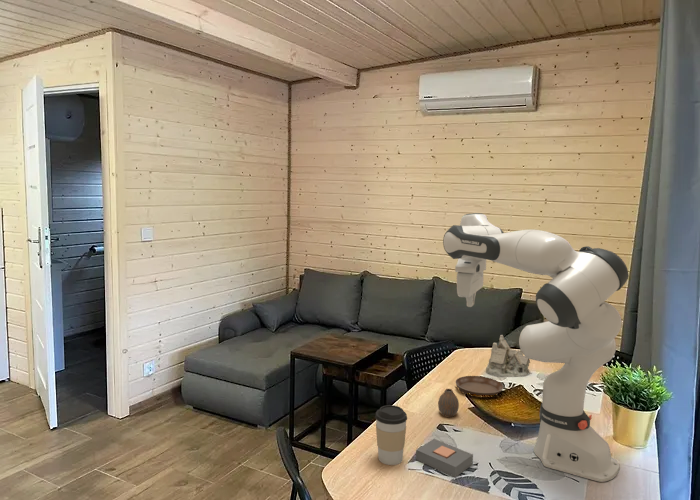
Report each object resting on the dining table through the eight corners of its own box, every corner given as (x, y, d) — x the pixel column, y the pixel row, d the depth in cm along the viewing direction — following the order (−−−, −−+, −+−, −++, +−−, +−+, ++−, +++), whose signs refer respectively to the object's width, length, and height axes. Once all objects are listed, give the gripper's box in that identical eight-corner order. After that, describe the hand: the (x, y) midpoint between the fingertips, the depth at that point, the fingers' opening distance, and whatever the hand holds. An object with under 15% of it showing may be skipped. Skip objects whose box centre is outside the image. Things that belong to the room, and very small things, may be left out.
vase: (458, 419, 172) (459, 394, 171) (437, 417, 173) (438, 393, 172) (458, 411, 179) (459, 387, 178) (438, 409, 180) (439, 385, 179)
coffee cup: (386, 447, 154) (387, 399, 152) (412, 457, 148) (413, 407, 146) (368, 459, 147) (368, 409, 145) (394, 470, 141) (395, 418, 139)
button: (454, 461, 146) (455, 451, 145) (446, 467, 142) (446, 456, 142) (441, 456, 149) (442, 445, 148) (433, 461, 145) (433, 451, 145)
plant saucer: (476, 379, 209) (477, 372, 209) (512, 393, 194) (513, 386, 194) (445, 388, 199) (445, 381, 199) (480, 404, 185) (481, 396, 184)
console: (472, 464, 144) (473, 454, 144) (455, 477, 138) (455, 467, 138) (433, 448, 153) (434, 438, 153) (415, 459, 147) (416, 449, 146)
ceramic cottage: (480, 371, 216) (484, 337, 214) (499, 364, 228) (504, 331, 226) (514, 384, 205) (519, 348, 203) (533, 375, 217) (538, 341, 215)
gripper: (470, 259, 175) (468, 298, 177) (453, 267, 157) (452, 311, 159) (488, 260, 172) (487, 300, 174) (474, 269, 154) (472, 314, 156)
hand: (470, 306), depth 166 cm, fingers closed
